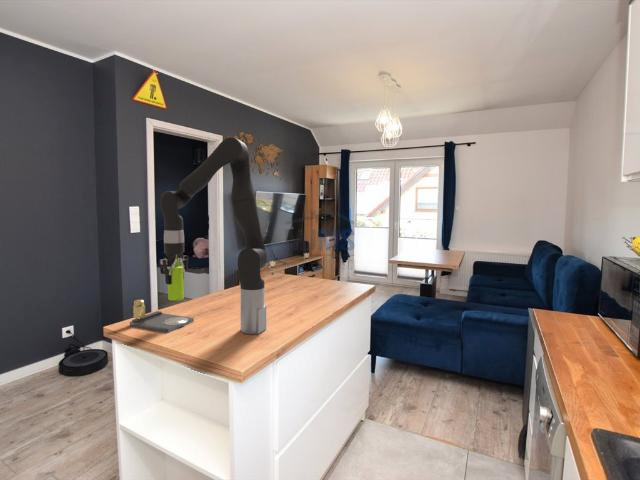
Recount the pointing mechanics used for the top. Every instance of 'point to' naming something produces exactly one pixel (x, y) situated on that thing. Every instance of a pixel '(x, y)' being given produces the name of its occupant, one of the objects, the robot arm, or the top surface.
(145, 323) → the plate
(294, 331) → the top surface
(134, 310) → the press lever
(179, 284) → the soap dispenser
